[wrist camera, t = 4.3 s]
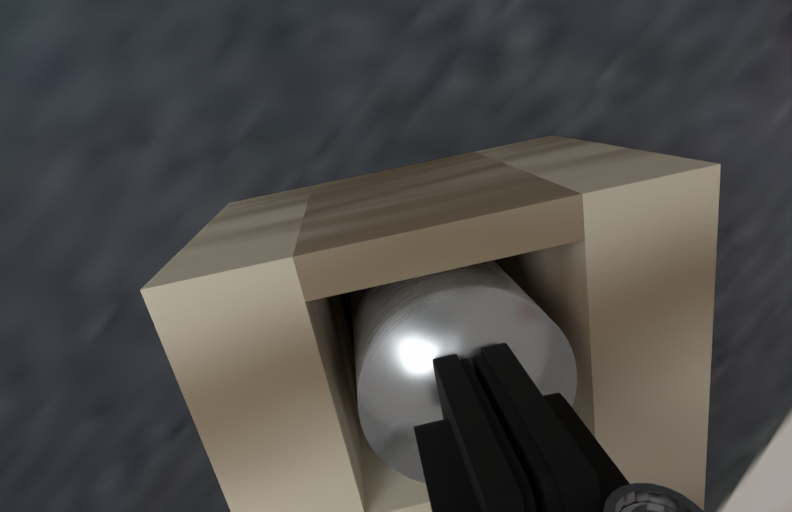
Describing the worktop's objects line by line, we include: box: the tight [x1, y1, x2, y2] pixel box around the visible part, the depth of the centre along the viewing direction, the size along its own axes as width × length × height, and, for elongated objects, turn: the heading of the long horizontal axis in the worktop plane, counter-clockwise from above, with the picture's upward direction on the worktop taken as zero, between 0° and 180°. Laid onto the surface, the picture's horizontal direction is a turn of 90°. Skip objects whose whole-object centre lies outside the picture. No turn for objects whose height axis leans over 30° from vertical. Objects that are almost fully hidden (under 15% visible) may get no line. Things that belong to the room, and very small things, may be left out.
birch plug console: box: [140, 135, 721, 512], centre depth 17 cm, size 21×12×8 cm, turn 11°
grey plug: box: [350, 260, 577, 483], centre depth 14 cm, size 5×5×8 cm
